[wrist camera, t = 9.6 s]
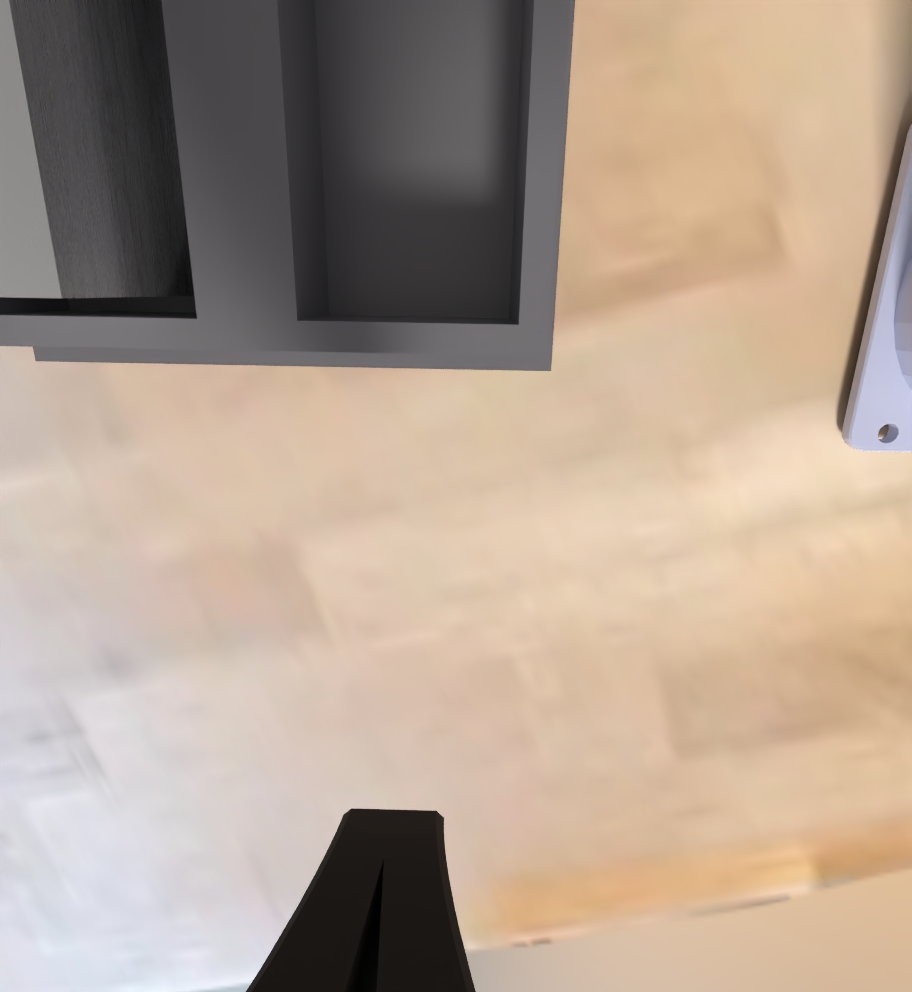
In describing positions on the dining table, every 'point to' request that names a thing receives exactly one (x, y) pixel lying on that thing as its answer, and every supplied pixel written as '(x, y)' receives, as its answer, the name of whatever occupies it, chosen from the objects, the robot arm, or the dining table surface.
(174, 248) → the grey metallic block
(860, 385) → the robot arm
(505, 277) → the box
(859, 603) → the dining table surface
